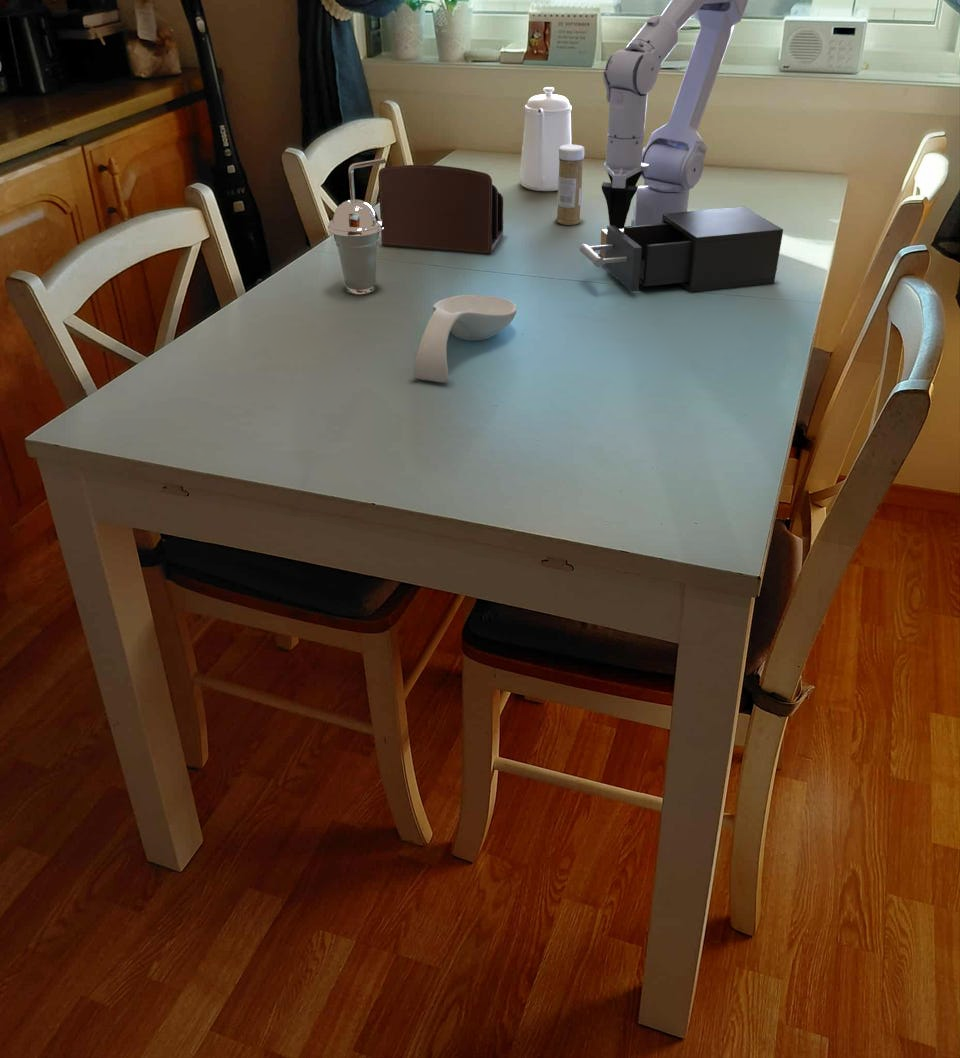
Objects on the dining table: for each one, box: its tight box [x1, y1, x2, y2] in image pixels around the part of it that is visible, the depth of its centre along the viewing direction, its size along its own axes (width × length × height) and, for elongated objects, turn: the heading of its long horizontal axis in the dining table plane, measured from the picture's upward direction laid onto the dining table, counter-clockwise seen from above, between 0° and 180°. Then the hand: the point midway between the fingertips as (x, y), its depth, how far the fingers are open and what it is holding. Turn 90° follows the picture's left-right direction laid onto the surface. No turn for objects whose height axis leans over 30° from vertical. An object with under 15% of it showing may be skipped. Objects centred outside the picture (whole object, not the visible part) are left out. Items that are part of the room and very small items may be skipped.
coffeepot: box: [519, 86, 573, 192], centre depth 197 cm, size 11×25×19 cm, turn 168°
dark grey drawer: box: [579, 223, 694, 292], centre depth 154 cm, size 19×11×7 cm, turn 105°
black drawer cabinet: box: [662, 206, 784, 293], centre depth 157 cm, size 15×13×9 cm
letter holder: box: [377, 164, 504, 255], centre depth 169 cm, size 10×20×14 cm, turn 76°
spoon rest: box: [413, 294, 518, 383], centre depth 133 cm, size 24×12×7 cm, turn 162°
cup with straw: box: [327, 157, 387, 296], centre depth 148 cm, size 8×9×20 cm
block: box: [599, 228, 623, 259], centre depth 164 cm, size 4×4×4 cm
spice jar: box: [556, 144, 585, 226], centre depth 178 cm, size 5×5×14 cm
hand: (619, 221), depth 162 cm, fingers open, 7 cm apart
